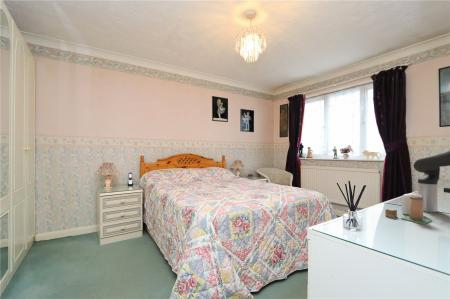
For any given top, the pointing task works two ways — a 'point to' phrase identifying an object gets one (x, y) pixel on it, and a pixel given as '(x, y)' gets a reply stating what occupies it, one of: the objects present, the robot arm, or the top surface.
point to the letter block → (391, 213)
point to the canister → (416, 208)
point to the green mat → (416, 220)
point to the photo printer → (407, 203)
